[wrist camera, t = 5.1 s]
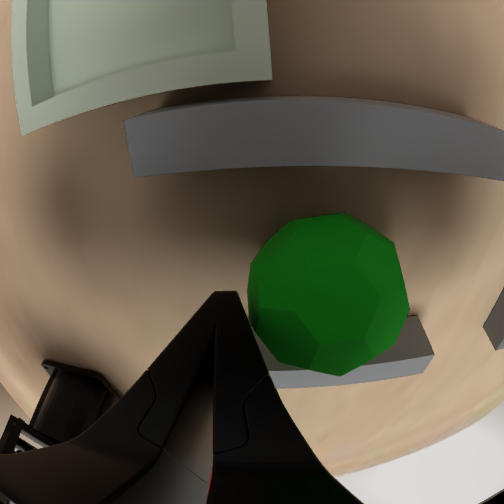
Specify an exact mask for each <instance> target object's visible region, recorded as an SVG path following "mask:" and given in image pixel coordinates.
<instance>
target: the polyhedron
mask: <svg viewBox="0 0 504 504" xmlns="http://www.w3.org/2000/svg"><path fill="white" fill-rule="evenodd" d="M247 294H248V310H249V322H250V324H251V325H252V327H253V329H254V331H255V333H256V334H257V335H258V337H259V338H260V339H261V341H262V342H263V343H264V344H265V346H266V347H267V348H268V350H269V351H270V352H271V353H272V355H273V356H274V357H275V358H276V360H277V361H278V362H280V363H283V364H287V365H290V366H294V367H298V368H302V369H307V370H311V371H315V372H320V373H324V374H329V375H334V376H339V377H341V376H343V375H345V374H347V373H348V372H350V371H352V370H354V369H356V368H358V367H360V366H361V365H363V364H365V363H367V362H369V361H370V360H372V359H374V358H375V357H377V356H378V355H380V354H381V353H383V352H384V351H385V350H387V349H388V348H390V347H391V346H392V345H394V344H395V342H396V340H397V338H398V335H399V333H400V331H401V329H402V326H403V324H404V322H405V319H406V317H407V314H408V312H409V310H410V308H409V303H408V298H407V293H406V289H405V284H404V280H403V276H402V272H401V268H400V264H399V260H398V256H397V252H396V249H395V245H394V243H393V242H392V241H391V240H389V239H388V238H386V237H385V236H384V235H382V234H381V233H379V232H378V231H377V230H375V229H374V228H372V227H371V226H369V225H368V224H366V223H364V222H362V221H360V220H358V219H356V218H354V217H353V216H351V215H349V214H347V213H337V214H329V215H321V216H314V217H308V218H302V219H296V220H290V221H289V222H288V223H287V224H286V225H284V226H283V227H282V228H281V229H280V230H279V231H278V232H277V233H275V234H274V235H273V236H272V237H271V238H270V239H269V240H268V241H267V242H266V243H265V245H264V246H263V248H262V249H261V250H260V252H259V253H258V255H257V256H256V257H255V259H254V260H253V262H252V263H251V266H250V274H249V281H248V289H247Z"/></svg>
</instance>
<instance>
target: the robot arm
mask: <svg viewBox="0 0 504 504" xmlns="http://www.w3.org/2000/svg"><path fill="white" fill-rule="evenodd" d="M41 365H42V366H43V368H44V369H45V370H46V371H47V372H48V373H49V374H50V378H49V380H48V382H47V385H46V387H45V389H44V391H43V393H42V395H41V398H40V400H39V402H38V404H37V407H36V409H35V411H34V414H33V416H32V419H31V421H30V424H29V425H28V424H26V423H25V421H23V420H22V419H21V418H16V417H14V416H13V415H11V416H10V418H9V420H8V423H7V425H6V428H5V430H4V432H3V435H2V437H1V439H0V504H364V503H362V502H361V501H360V500H359V499H358V498H357V497H355V496H354V495H353V494H352V493H351V492H350V491H349V490H347V489H346V488H345V487H344V486H343V485H342V484H341V483H340V482H339V481H337V480H336V479H335V478H334V477H333V476H332V475H331V474H330V473H329V472H328V471H327V469H326V468H325V467H324V466H323V465H322V463H321V462H320V461H319V459H318V458H317V457H316V455H315V454H314V452H313V451H312V449H311V448H310V446H309V445H308V443H307V442H306V440H305V439H304V437H303V436H302V434H301V433H300V431H299V429H298V428H297V426H296V425H295V423H294V422H293V420H292V418H291V417H290V415H289V413H288V412H287V410H286V408H285V406H284V405H283V403H282V401H281V399H280V396H279V394H278V392H277V390H276V388H275V386H274V383H273V381H272V378H271V376H270V374H269V371H268V369H267V366H266V364H265V361H264V359H263V356H262V354H261V351H260V349H259V346H258V344H257V341H256V339H255V336H254V334H253V331H252V329H251V326H250V324H249V321H248V318H247V316H246V313H245V311H244V308H243V306H242V303H241V300H240V298H239V295H238V293H237V291H215V292H213V293H212V294H211V295H210V297H209V298H208V299H207V300H206V301H205V302H204V304H203V305H202V306H201V307H200V308H199V309H198V311H197V312H196V313H195V314H194V315H193V316H192V318H191V319H190V320H189V321H188V322H187V323H186V325H185V326H184V327H183V328H182V329H181V330H180V332H179V333H178V334H177V335H176V336H175V337H174V339H173V340H172V341H171V342H170V343H169V344H168V346H167V347H166V348H165V349H164V350H163V351H162V353H161V354H160V355H159V356H158V357H157V358H156V359H155V361H154V362H153V363H152V364H151V365H150V367H149V368H148V370H146V371H145V372H144V373H143V375H142V376H141V377H140V378H139V379H138V380H137V381H136V382H135V384H134V385H133V386H132V387H131V388H130V389H129V390H128V391H127V392H126V393H125V394H124V395H123V396H122V397H121V398H120V397H119V396H118V395H117V394H116V392H115V391H114V390H113V389H112V388H111V386H110V385H109V384H108V383H107V381H106V380H105V379H104V378H103V377H102V376H101V375H100V374H98V373H95V372H90V371H86V370H81V369H77V368H73V367H69V366H65V365H61V364H57V363H53V362H50V361H46V360H43V362H42V364H41ZM20 433H22V434H23V435H25V436H26V437H28V438H29V439H31V440H33V441H34V442H36V443H38V444H39V445H41V446H43V447H44V448H40V449H37V448H35V447H34V446H32V445H30V444H29V443H27V442H26V441H24V440H22V439H21V438H19V436H20ZM15 447H16V448H17V449H19V450H17V451H16V452H15V451H14V449H15ZM212 465H213V470H212ZM211 471H212V479H211V484H210V488H209V485H208V484H209V482H210V476H211ZM208 489H209V493H208ZM207 495H208V497H207ZM206 500H207V502H206ZM479 504H504V489H503V490H501V491H500V492H498V493H496V494H494V495H493V496H491V497H489V498H488V499H486V500H484V501H482V502H481V503H479Z"/></svg>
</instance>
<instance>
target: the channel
mask: <svg viewBox="0 0 504 504" xmlns="http://www.w3.org/2000/svg"><path fill="white" fill-rule="evenodd" d="M124 127H125V133H126V138H127V144H128V149H129V154H130V159H131V164H132V169H133V174H134V178H138V177H146V176H154V175H162V174H171V173H181V172H191V171H203V170H215V169H230V168H247V167H272V166H357V167H380V168H397V169H411V170H423V171H433V172H443V173H452V174H460V175H468V176H475V177H482V178H488V179H494V180H500V181H504V131H503V130H501V129H498V128H496V127H494V126H491V125H489V124H486V123H483V122H481V121H478V120H475V119H472V118H470V117H466V116H462V115H458V114H454V113H450V112H446V111H441V110H436V109H431V108H426V107H420V106H415V105H409V104H402V103H395V102H388V101H379V100H370V99H359V98H346V97H328V96H264V97H246V98H233V99H222V100H212V101H203V102H196V103H188V104H182V105H175V106H169V107H163V108H158V109H155V110H152V111H149V112H146V113H143V114H141V115H138V116H135V117H132V118H129V119H127V120H124ZM483 328H484V330H485V332H486V333H487V335H488V337H489V339H490V341H491V343H492V345H493V347H494V349H495V351H496V350H499V349H502V348H504V289H503V291H502V293H501V295H500V297H499V299H498V301H497V303H496V305H495V307H494V308H493V310H492V312H491V314H490V316H489V317H488V319H487V321H486V323H485V324H484V326H483ZM251 329H252V331H253V334H254V336H255V339H256V341H257V344H258V346H259V349H260V351H261V354H262V356H263V359H264V361H265V364H266V366H267V369H268V371H269V374H270V376H271V378H272V381H273V383H274V386H275V388H276V389H278V388H307V387H323V386H335V385H346V384H355V383H364V382H372V381H379V380H386V379H392V378H398V377H404V376H410V375H415V374H420V373H423V372H424V371H425V369H426V367H427V366H428V364H429V363H430V361H431V360H432V358H433V356H434V355H435V354H434V352H433V349H432V347H431V345H430V342H429V340H428V337H427V335H426V333H425V330H424V328H423V326H422V324H421V321H420V319H419V317H418V316H410V317H406V319H405V322H404V324H403V326H402V329H401V331H400V333H399V335H398V338H397V340H396V342H395V344H394V345H392V346H391V347H390V348H388V349H387V350H385V351H384V352H383V353H381V354H380V355H378V356H377V357H375V358H374V359H372V360H370V361H369V362H367V363H365V364H363V365H361V366H360V367H358V368H356V369H354V370H352V371H350V372H348V373H347V374H345V375H343V376H341V377H339V376H334V375H329V374H324V373H320V372H315V371H311V370H307V369H302V368H298V367H294V366H290V365H287V364H283V363H280V362H278V361H277V360H276V358H275V357H274V356H273V355H272V353H271V352H270V351H269V350H268V348H267V347H266V346H265V344H264V343H263V342H262V341H261V339H260V338H259V337H258V335H257V334H256V333H255V331H254V329H253V327H252V326H251Z"/></svg>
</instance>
